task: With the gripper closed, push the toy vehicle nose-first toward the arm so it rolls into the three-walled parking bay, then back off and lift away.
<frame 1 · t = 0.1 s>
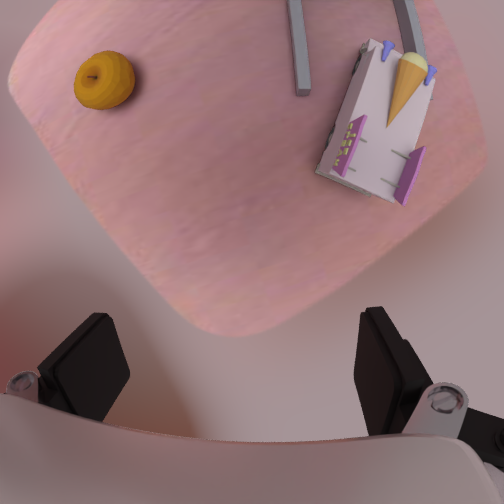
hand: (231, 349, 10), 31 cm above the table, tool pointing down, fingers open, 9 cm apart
parking bay: (354, 34, 31), on the table
toy vehicle: (363, 118, 35), on the table
apple: (121, 86, 36), on the table
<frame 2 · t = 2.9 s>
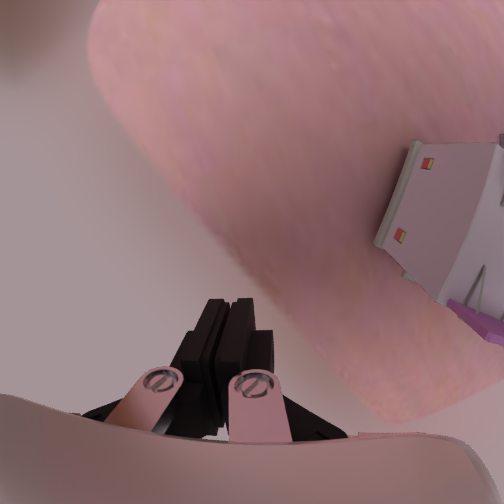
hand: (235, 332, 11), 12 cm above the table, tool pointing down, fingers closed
toy vehicle: (473, 235, 20), on the table
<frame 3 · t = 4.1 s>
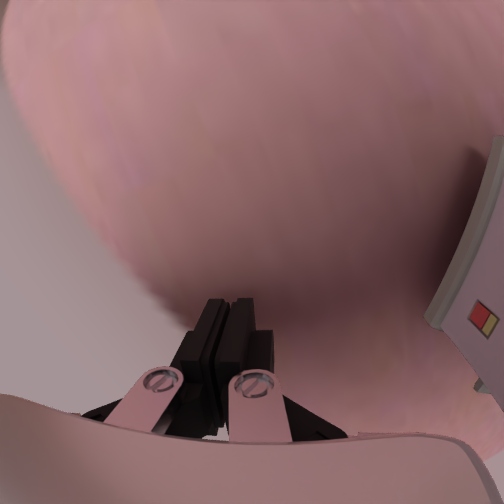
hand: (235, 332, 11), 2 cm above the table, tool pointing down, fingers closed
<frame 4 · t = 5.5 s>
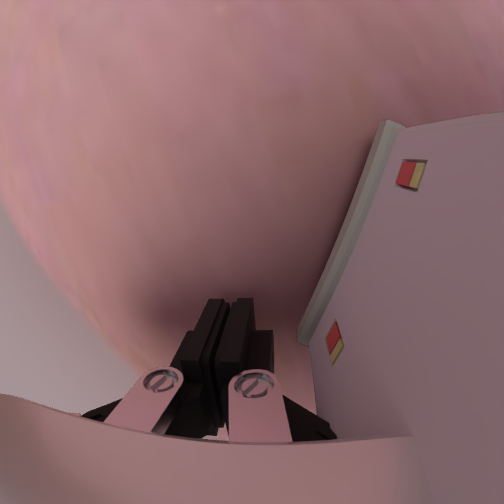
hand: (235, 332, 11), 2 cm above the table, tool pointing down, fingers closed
toy vehicle: (489, 288, 12), on the table
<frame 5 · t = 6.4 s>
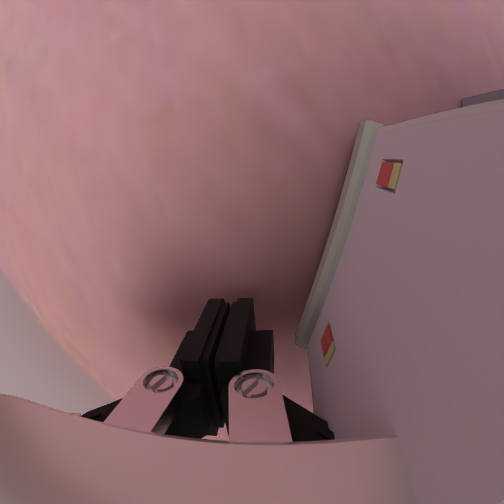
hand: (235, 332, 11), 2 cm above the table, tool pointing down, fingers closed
toy vehicle: (490, 276, 12), on the table, touching gripper
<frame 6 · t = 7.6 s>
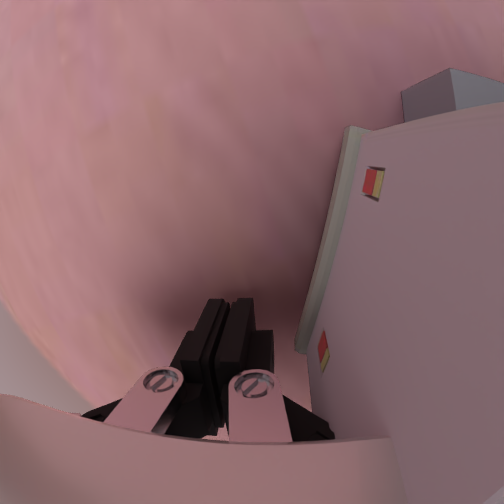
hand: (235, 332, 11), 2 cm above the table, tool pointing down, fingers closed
toy vehicle: (488, 270, 12), on the table, touching gripper
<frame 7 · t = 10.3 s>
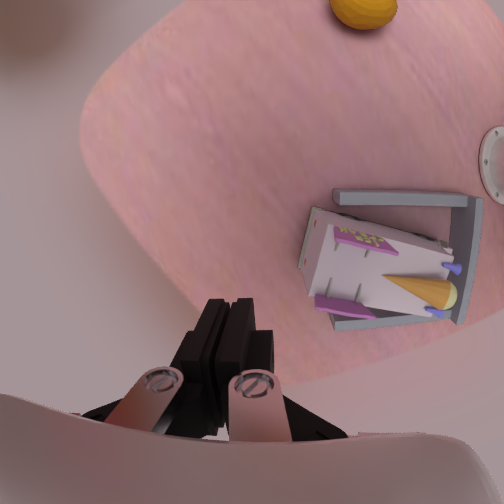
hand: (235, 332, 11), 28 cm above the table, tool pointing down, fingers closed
parking bay: (400, 254, 38), on the table
toy vehicle: (371, 248, 39), on the table
apple: (353, 16, 29), on the table
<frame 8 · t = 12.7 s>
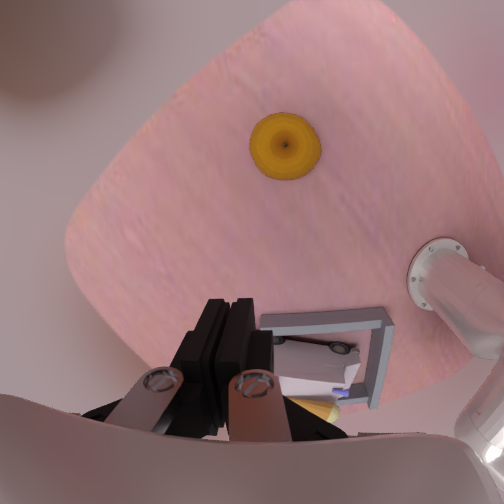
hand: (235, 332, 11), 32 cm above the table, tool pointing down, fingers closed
parking bay: (322, 356, 49), on the table
toy vehicle: (296, 352, 49), on the table
apple: (284, 148, 40), on the table
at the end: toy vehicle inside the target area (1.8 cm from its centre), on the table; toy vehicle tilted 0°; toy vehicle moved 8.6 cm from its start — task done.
